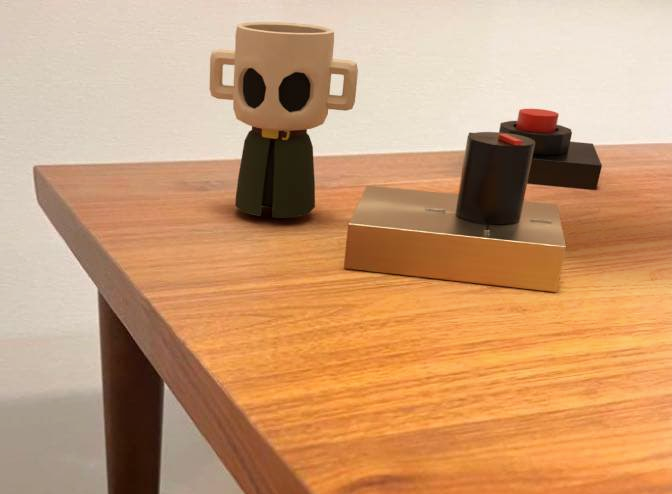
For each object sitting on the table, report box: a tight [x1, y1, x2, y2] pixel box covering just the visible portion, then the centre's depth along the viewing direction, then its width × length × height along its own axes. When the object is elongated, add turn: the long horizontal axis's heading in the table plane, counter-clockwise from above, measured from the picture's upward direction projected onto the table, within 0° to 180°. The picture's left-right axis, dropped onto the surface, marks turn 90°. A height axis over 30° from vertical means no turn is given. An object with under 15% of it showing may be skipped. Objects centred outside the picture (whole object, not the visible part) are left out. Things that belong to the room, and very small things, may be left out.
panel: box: [343, 185, 567, 293], centre depth 68 cm, size 14×11×3 cm
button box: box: [468, 120, 603, 191], centre depth 91 cm, size 12×10×4 cm
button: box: [516, 108, 560, 132], centre depth 90 cm, size 4×4×2 cm
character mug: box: [209, 21, 359, 219], centre depth 72 cm, size 11×7×13 cm, turn 77°
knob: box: [456, 131, 535, 224], centre depth 65 cm, size 4×4×5 cm
